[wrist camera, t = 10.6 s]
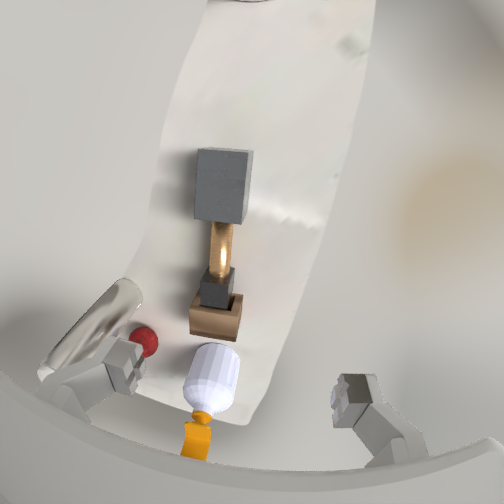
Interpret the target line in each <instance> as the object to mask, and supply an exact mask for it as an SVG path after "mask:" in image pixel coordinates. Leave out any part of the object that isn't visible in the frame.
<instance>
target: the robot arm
mask: <svg viewBox="0 0 504 504" xmlns="http://www.w3.org/2000/svg"><path fill="white" fill-rule="evenodd" d="M240 1H264V0H240ZM142 352H143V347H142V345H141V344H138V343H135V342H131V341H128V340H125V339H122V338H118V337H115V336H112V335H110V336H108V337H107V338H106V339H105V341H104V342H103V343H102V345H101V346H100V347H99V349H98V350H97V351H96V353H95V354H94V355H93V357H92V358H86V359H84V360H82V361H79V362H77V363H75V364H72V365H70V366H68V367H65V368H63V369H60V370H58V371H55V372H53V373H51V374H48V375H47V376H46V377H45V378H44V380H43V381H42V382H41V384H40V385H39V386H38V388H37V389H36V390H35V392H34V393H32V392H30V391H29V390H27V389H26V388H24V387H23V386H21V385H20V384H18V383H17V382H15V381H14V380H13V379H11V378H10V377H8V376H7V375H6V374H4V373H3V372H2V371H0V504H504V446H503V445H502V444H501V443H499V442H498V441H497V440H495V439H493V438H491V437H487V438H483V439H481V440H478V441H476V442H473V443H470V444H468V445H465V446H462V447H459V448H456V449H453V450H450V451H446V452H443V453H439V454H436V455H432V456H429V454H428V450H427V447H426V444H425V440H424V437H423V434H422V433H421V432H420V431H419V430H418V429H417V428H416V427H415V426H413V425H412V424H411V423H410V422H409V421H408V420H407V419H406V418H404V417H403V416H402V415H401V414H400V413H399V412H398V411H396V410H395V409H394V408H393V407H392V406H391V405H390V404H389V403H385V402H384V399H383V395H382V392H381V389H380V386H379V383H378V380H377V376H376V375H375V374H340V376H339V378H338V384H337V385H336V386H334V388H333V390H332V394H331V407H332V408H333V409H334V413H333V415H332V418H333V426H334V428H353V430H354V432H355V433H356V434H357V436H358V437H359V438H360V439H361V440H362V442H363V443H364V444H365V446H366V447H367V448H368V450H369V451H370V452H371V453H372V454H373V456H374V458H373V459H372V460H371V461H370V462H369V463H367V465H366V466H365V468H361V469H351V470H337V471H278V470H264V469H253V468H245V467H237V466H230V465H223V464H218V463H212V462H207V461H202V460H197V459H193V458H189V457H184V456H180V455H176V454H172V453H168V452H165V451H162V450H158V449H155V448H151V447H148V446H145V445H142V444H139V443H136V442H133V441H130V440H128V439H125V438H122V437H120V436H117V435H115V434H112V433H110V432H107V431H105V430H102V429H100V428H98V427H96V426H93V425H91V421H90V419H89V417H88V416H87V414H86V413H85V411H87V410H88V409H90V408H91V407H93V406H95V405H96V404H98V403H99V402H101V401H102V400H104V399H106V398H107V397H109V396H110V395H112V394H113V393H115V392H118V393H121V394H125V395H128V396H131V397H132V396H133V394H134V392H135V390H136V389H137V387H138V384H137V381H138V380H140V379H141V378H142V377H143V375H144V372H145V368H146V361H145V358H144V357H143V356H142Z"/></svg>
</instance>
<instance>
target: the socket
mask: <svg viewBox="0 0 504 504" xmlns="http://www.w3.org/2000/svg"><path fill="white" fill-rule="evenodd" d="M242 302H243V295H240V294H233V293H232V295H231V298H230V301H229V304H228V308H227V310H220V309H214V308H208V306H204V305H200V288H199V290H198V292H197V294H196V296H195V298H194V300H193V302H192V304H191V306H190V308H189V326H190V334H192V335H197V336H203V337H208V338H214V339H220V340H226V341H232V342H236V338H237V333H238V329H239V324H240V320H241V311H242Z"/></svg>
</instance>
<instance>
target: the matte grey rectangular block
mask: <svg viewBox="0 0 504 504" xmlns="http://www.w3.org/2000/svg"><path fill="white" fill-rule="evenodd" d="M252 161H253V151H248V150H238V149H226V148H212V147H210V148H201V149H198V158H197V173H196V189H195V210H194V219H199V220H207V221H216V222H224V223H232V224H240V225H241V224H242V222H243V220H244V217H245V215H246V213H247V208H248V199H249V189H250V179H251V170H252Z"/></svg>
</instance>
